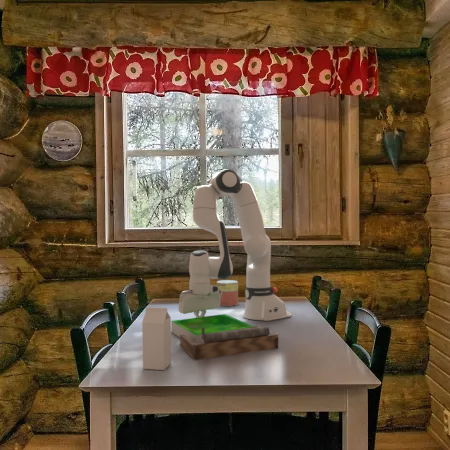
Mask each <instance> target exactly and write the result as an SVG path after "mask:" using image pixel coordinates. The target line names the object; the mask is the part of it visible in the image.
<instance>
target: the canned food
mask: <svg viewBox="0 0 450 450" xmlns="http://www.w3.org/2000/svg"><path fill="white" fill-rule="evenodd" d="M216 286H218V287H219V291H218V292H219V294H220V306H219V307H234V306H233V305H235V306H238V305H239V281H238V280H234V279H226V280H223V279H219V280H217V281H216ZM237 304H238V305H237Z"/></svg>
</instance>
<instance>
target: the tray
mask: <svg viewBox="0 0 450 450" xmlns="http://www.w3.org/2000/svg"><path fill="white" fill-rule="evenodd" d="M254 326H255V325H251V324H250V323H247V322H245V321H243V320H240V319H237V318H235V317H233V316H230V315H228V314H226V313H222V314H215V315H208V316H206V315H205V316H204V317H198V318H196V317H191V318H182V319H175V320H174V319H173V320H171V333H173V334H174V335H176V336H178V337H179V338H180V335H182V334H184V335H185V336H186V337H188V338H189V339H190V340H191V341H192V342H194V343H201V342H204V339H202V327H205V334H209V333H218V332H226V331H235V330H243V329H252V328H255V327H254Z"/></svg>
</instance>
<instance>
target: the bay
mask: <svg viewBox="0 0 450 450" xmlns="http://www.w3.org/2000/svg"><path fill="white" fill-rule="evenodd" d="M253 326H254V327H255V328H252V329H243V330H235V331H226V332H218V333H209V334H205V327H202V339H204V342H201V343H194V342H192V341H191V340H190V339H189V338H188V337H186V336H185V335H184V334H182V335H180V337H179V346H180V347H181V348H182V349H183V350H184V351H185V352H186V353H188V354H189V356H191V357H192V358H193V359H194V360H196V361H197V360H205V359H210V358H217V357H226V356H232V355H234V356H235V355H240V354H247V353H255V352H260V351H269V350H276V349H279V334H278V333H276V332H275V333H271V330H270V327H269V326H262V327H260V326H257V325H253Z"/></svg>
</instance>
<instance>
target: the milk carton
mask: <svg viewBox="0 0 450 450" xmlns="http://www.w3.org/2000/svg"><path fill="white" fill-rule="evenodd" d="M171 318H172V317H171V315H170V313H169V312H168V308H167V307H153V306H152V307H149V306H148V307H147V306H146V307H145V312H144V316H143V319H142V322H141V324H142V330H141V331H142V334H141V335H142V369H143V370H157V371H165V370H166V369H167V368H168V367H169V366H170V365H171V364H172V332H171V321H172V319H171Z"/></svg>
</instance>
